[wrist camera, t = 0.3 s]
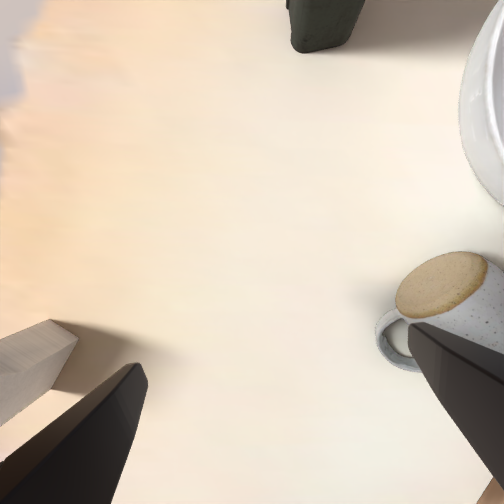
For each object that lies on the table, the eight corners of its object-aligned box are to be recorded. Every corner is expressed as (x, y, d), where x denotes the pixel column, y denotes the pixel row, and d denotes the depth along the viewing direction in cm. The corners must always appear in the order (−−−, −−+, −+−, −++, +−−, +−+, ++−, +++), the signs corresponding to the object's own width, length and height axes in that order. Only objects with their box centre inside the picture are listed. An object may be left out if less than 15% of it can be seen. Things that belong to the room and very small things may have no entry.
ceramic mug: (435, 240, 22) (520, 249, 15) (500, 303, 22) (618, 343, 15) (348, 321, 24) (384, 367, 16) (410, 379, 24) (474, 452, 16)
